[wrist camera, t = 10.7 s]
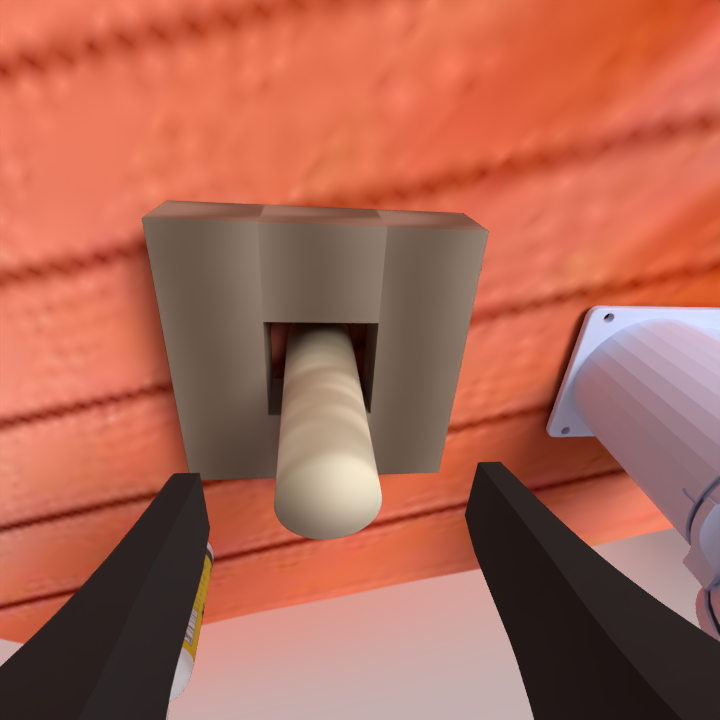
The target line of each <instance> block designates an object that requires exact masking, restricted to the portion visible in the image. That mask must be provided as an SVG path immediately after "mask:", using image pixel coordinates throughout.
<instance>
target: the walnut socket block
mask: <svg viewBox="0 0 720 720" xmlns="http://www.w3.org/2000/svg"><path fill="white" fill-rule="evenodd" d="M142 222H143V228H144V233H145V238H146V244H147V249H148V255H149V260H150V265H151V271H152V276H153V281H154V287H155V292H156V298H157V303H158V308H159V314H160V319H161V325H162V330H163V335H164V341H165V346H166V351H167V357H168V362H169V368H170V373H171V378H172V384H173V389H174V394H175V400H176V405H177V411H178V416H179V421H180V427H181V432H182V438H183V443H184V448H185V454H186V459H187V464H188V470H189V473H200V477H201V480H226V479H257V478H276V474H277V462H278V449H279V437H280V424H281V412H282V399H283V387H284V378H273V369H272V348H271V326H270V322H315V323H367V332H366V345H365V358H364V371H363V378H359V380H360V386H361V391H362V396H363V401H364V406H365V411H366V416H367V422H368V427H369V432H370V437H371V442H372V447H373V452H374V458H375V463H376V468H377V473H378V475H379V474H409V473H439V469H440V464H441V459H442V454H443V450H444V445H445V440H446V435H447V430H448V425H449V421H450V416H451V411H452V406H453V401H454V397H455V392H456V387H457V382H458V377H459V372H460V368H461V363H462V358H463V353H464V348H465V344H466V339H467V334H468V329H469V324H470V319H471V315H472V310H473V305H474V300H475V295H476V291H477V286H478V281H479V276H480V271H481V266H482V262H483V257H484V252H485V247H486V242H487V237H488V233H489V231H488V230H487V229H485V228H484V227H482V226H481V225H480V224H478V223H477V222H475V221H474V220H472V219H471V218H469V217H468V216H467V215H465V214H464V213H445V212H422V211H398V210H375V209H351V208H328V207H304V206H281V205H257V204H234V203H210V202H187V201H166V202H164V203H163V204H161V205H160V206H158V207H157V208H155V209H154V210H152V211H151V212H149V213H148V214H147V215H145V216H144V217H142Z"/></svg>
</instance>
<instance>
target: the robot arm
mask: <svg viewBox="0 0 720 720" xmlns="http://www.w3.org/2000/svg"><path fill="white" fill-rule="evenodd" d="M607 314H609V316H608V317H607V318H606V319H604V317H605V316H606V315H607ZM565 427H566V428H565ZM564 428H565V429H564ZM562 429H563V430H562ZM546 431H547V432H548V434H549V435H550V436H551V437H586V436H595V437H596V438H597V439H598V440H599V441H600V442H601V443H602V445H603V446H604V447H605V448H606V449H607V450H608V451H609V453H610V454H611V455H612V456H613V457H614V458H615V460H616V461H617V462H618V463H619V464H620V465H621V466H622V468H623V469H624V470H625V471H626V472H627V473H628V474H629V476H630V477H631V478H632V479H633V480H634V481H635V482H636V484H637V485H638V486H639V487H640V488H641V489H642V491H643V492H644V493H645V494H646V495H647V496H648V497H649V499H650V500H651V501H652V502H653V503H654V504H655V505H656V507H657V508H658V509H659V510H660V511H661V512H662V513H663V515H664V516H665V517H666V518H667V519H668V520H669V522H670V523H671V524H672V525H673V526H674V527H675V528H676V530H677V531H678V532H679V533H680V534H681V535H682V536H683V538H684V539H685V540H686V541H687V542H688V543H689V545H691V548H690V551H689V553H688V554H687V556H686V557H685V559H684V560H683V563H684V564H685V565H686V567H687V568H688V569H689V570H690V571H691V573H692V574H693V575H694V576H695V578H696V579H697V580H698V581H699V582H700V584H701V585H702V586H703V587H702V588H701V590H700V591H699V593H698V595H697V599H696V614H697V618H698V621H699V625H700V627H701V629H699V628H698V627H696V626H695V625H693V624H692V623H690V622H689V621H687V620H686V619H684V618H683V617H682V616H680V615H678V614H677V613H676V612H674V611H673V610H671V609H670V608H668V607H667V606H665V605H664V604H662V603H661V602H660V601H658V600H657V599H655V598H654V597H653V596H651V595H650V594H649V593H647V592H646V591H645V590H643V589H642V588H641V587H639V586H638V585H637V584H636V583H634V582H633V581H631V580H630V579H629V578H628V577H626V576H625V575H624V574H622V573H621V572H620V571H618V570H617V569H616V568H615V567H614V566H612V565H611V564H610V563H608V562H607V561H606V560H605V559H604V558H603V557H601V556H600V555H599V554H598V553H597V552H595V551H594V550H593V549H592V548H591V547H590V546H588V545H587V544H586V543H585V542H584V541H583V540H581V539H580V538H579V537H578V536H577V535H576V534H575V533H574V532H573V531H571V530H570V529H569V528H568V527H567V526H566V525H565V524H564V523H563V522H562V521H560V520H559V519H558V518H557V517H556V516H555V515H554V514H553V513H552V512H551V511H550V510H549V509H548V508H547V507H546V506H545V505H544V504H543V503H542V502H540V501H539V500H538V499H537V498H536V497H535V496H534V495H533V494H532V493H531V492H530V491H529V490H528V489H527V488H526V487H525V486H524V485H523V484H522V483H521V482H520V481H519V480H518V479H517V478H516V477H515V476H514V475H513V474H512V473H511V472H510V471H509V470H508V469H507V468H506V467H505V466H504V465H503V464H502V463H501V462H479V463H478V465H477V469H476V473H475V477H474V481H473V485H472V489H471V493H470V497H469V501H468V505H467V509H466V513H465V517H466V521H467V525H468V529H469V533H470V537H471V541H472V544H473V548H474V551H475V554H476V557H477V559H478V562H479V565H480V567H481V570H482V572H483V575H484V577H485V580H486V582H487V585H488V587H489V590H490V592H491V595H492V597H493V600H494V602H495V605H496V607H497V610H498V612H499V615H500V617H501V620H502V622H503V625H504V627H505V630H506V632H507V635H508V637H509V640H510V642H511V645H512V648H513V651H514V654H515V657H516V660H517V663H518V666H519V669H520V672H521V676H522V679H523V683H524V686H525V689H526V692H527V696H528V699H529V703H530V706H531V710H532V713H533V717H534V720H720V308H709V307H647V306H595V307H593V308H591V309H590V310H589V311H588V312H587V314H586V316H585V319H584V322H583V325H582V328H581V330H580V333H579V336H578V339H577V342H576V345H575V347H574V350H573V353H572V356H571V359H570V362H569V364H568V367H567V370H566V373H565V376H564V379H563V382H562V384H561V387H560V390H559V393H558V396H557V399H556V401H555V404H554V407H553V410H552V413H551V416H550V418H549V421H548V424H547V427H546ZM209 530H210V526H209V521H208V515H207V510H206V504H205V499H204V493H203V488H202V482H201V477H200V473H176V474H173V475H172V476H171V477H170V478H169V480H168V481H167V482H166V484H165V485H164V487H163V488H162V489H161V491H160V492H159V493H158V495H157V496H156V497H155V499H154V500H153V501H152V503H151V504H150V505H149V507H148V508H147V509H146V511H145V512H144V513H143V514H142V516H141V517H140V518H139V520H138V521H137V522H136V523H135V525H134V526H133V527H132V528H131V530H130V531H129V532H128V533H127V534H126V536H125V537H124V538H123V539H122V541H121V542H120V543H119V544H118V546H117V547H116V548H115V549H114V550H113V552H112V553H111V554H110V555H109V556H108V557H107V559H106V560H105V561H104V562H103V563H102V564H101V565H100V566H99V568H98V569H97V570H96V571H95V572H94V573H93V574H92V575H91V577H90V578H89V579H88V580H87V581H86V582H85V583H84V584H83V586H82V587H81V588H80V589H79V590H78V591H77V592H76V593H75V594H74V595H73V596H72V597H71V598H70V599H69V601H68V602H67V603H66V604H65V605H64V606H63V607H62V608H61V609H60V610H59V611H58V612H57V613H56V614H55V615H54V616H53V617H52V618H51V619H50V620H49V621H48V622H47V623H46V624H45V625H44V626H43V627H42V628H41V629H40V630H39V631H38V632H37V633H36V634H35V635H34V636H33V637H32V638H31V639H30V640H28V641H27V642H26V643H25V644H24V645H23V646H22V647H21V648H20V649H19V650H18V651H17V652H16V653H14V654H13V655H12V656H11V657H10V658H9V659H8V660H7V661H6V662H5V663H4V664H3V665H2V666H1V667H0V720H166V715H167V710H168V704H169V699H170V694H171V689H172V685H173V680H174V676H175V672H176V668H177V664H178V660H179V657H180V653H181V649H182V646H183V642H184V639H185V635H186V631H187V628H188V624H189V620H190V617H191V613H192V610H193V606H194V602H195V599H196V595H197V591H198V587H199V584H200V580H201V576H202V572H203V568H204V562H205V556H206V550H207V544H208V537H209Z"/></svg>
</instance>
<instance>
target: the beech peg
mask: <svg viewBox="0 0 720 720" xmlns="http://www.w3.org/2000/svg"><path fill="white" fill-rule="evenodd" d="M381 504H382V494H381V488H380V483H379V478H378V473H377V468H376V463H375V458H374V452H373V447H372V442H371V437H370V432H369V427H368V422H367V416H366V411H365V406H364V401H363V396H362V391H361V386H360V380H359V375H358V370H357V365H356V360H355V355H354V350H353V344H352V339H351V334H350V330H349V327H348V325H347V324H346V323H315V322H293V323H292V324H291V326H290V328H289V331H288V336H287V349H286V361H285V374H284V387H283V399H282V412H281V424H280V437H279V449H278V462H277V474H276V487H275V500H274V509H275V513H276V516H277V518H278V520H279V521H280V522H281V523H282V525H283V526H285V527H286V528H287V529H288V530H290V531H291V532H293V533H295V534H297V535H300V536H303V537H306V538H311V539H320V540H325V539H336V538H341V537H345V536H348V535H351V534H354V533H356V532H358V531H360V530H361V529H363V528H364V527H366V526H367V525H368V524H369V523H371V522H372V521H373V519H374V518H375V517H376V516H377V514H378V512H379V510H380V508H381Z"/></svg>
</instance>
